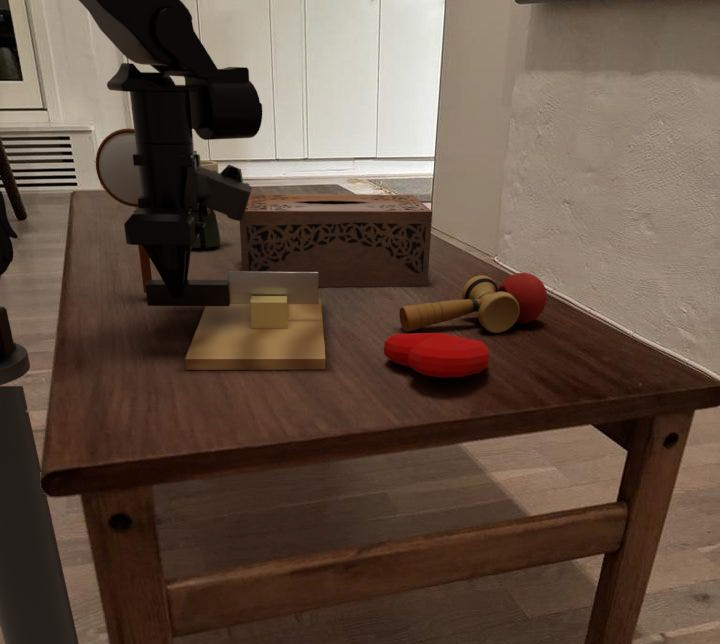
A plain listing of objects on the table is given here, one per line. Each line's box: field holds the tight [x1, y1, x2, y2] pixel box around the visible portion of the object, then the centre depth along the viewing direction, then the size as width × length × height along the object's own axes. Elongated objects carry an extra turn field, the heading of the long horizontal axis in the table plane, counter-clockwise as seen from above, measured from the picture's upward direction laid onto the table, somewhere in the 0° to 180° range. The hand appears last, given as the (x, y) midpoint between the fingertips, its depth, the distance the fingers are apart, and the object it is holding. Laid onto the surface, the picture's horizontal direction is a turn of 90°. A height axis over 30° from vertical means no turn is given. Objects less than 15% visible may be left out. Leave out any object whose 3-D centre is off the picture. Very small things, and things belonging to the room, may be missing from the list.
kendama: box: [398, 272, 548, 334], centre depth 87 cm, size 8×6×18 cm
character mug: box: [190, 159, 221, 249], centre depth 119 cm, size 11×7×13 cm, turn 106°
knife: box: [145, 270, 320, 307], centre depth 83 cm, size 19×2×4 cm, turn 94°
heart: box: [383, 332, 490, 378], centre depth 74 cm, size 12×4×10 cm
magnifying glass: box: [95, 128, 153, 299], centre depth 90 cm, size 9×2×20 cm, turn 99°
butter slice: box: [250, 296, 288, 329], centre depth 82 cm, size 4×2×3 cm, turn 94°
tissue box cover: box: [239, 193, 433, 288], centre depth 106 cm, size 26×14×10 cm, turn 97°
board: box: [184, 297, 327, 371], centre depth 84 cm, size 14×22×1 cm, turn 4°
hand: (179, 294), depth 83 cm, fingers closed on knife, 2 cm apart
